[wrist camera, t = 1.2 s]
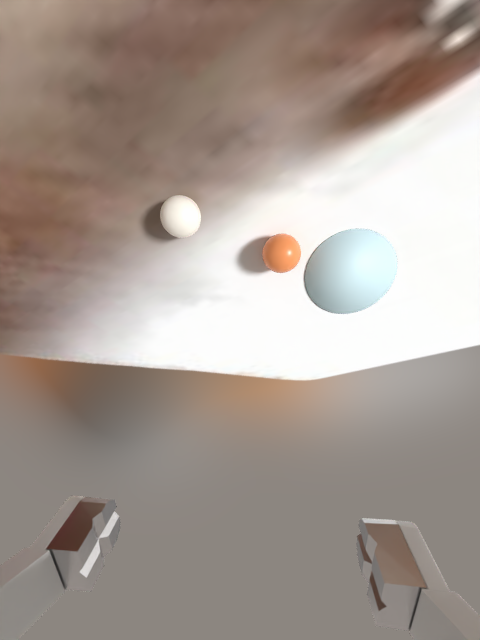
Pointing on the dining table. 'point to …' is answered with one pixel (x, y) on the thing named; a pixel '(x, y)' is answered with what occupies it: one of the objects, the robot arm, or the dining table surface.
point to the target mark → (351, 271)
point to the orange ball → (281, 253)
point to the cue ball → (180, 216)
